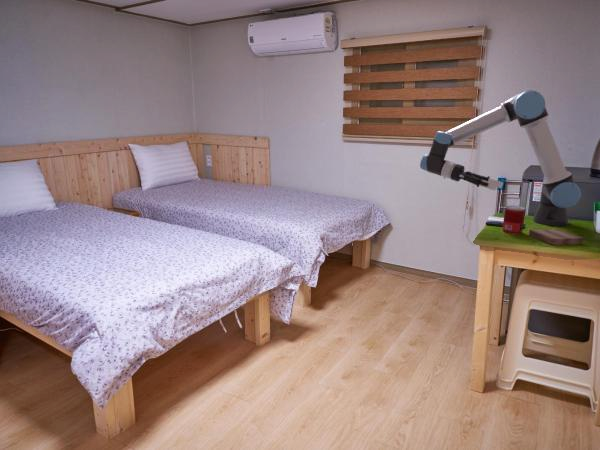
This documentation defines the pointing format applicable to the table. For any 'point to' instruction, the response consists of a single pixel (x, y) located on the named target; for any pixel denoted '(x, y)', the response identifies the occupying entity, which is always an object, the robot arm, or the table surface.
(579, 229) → the table surface
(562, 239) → the walnut base
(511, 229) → the canned food
